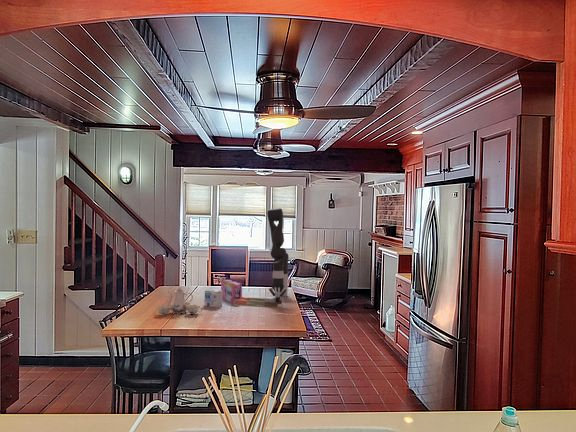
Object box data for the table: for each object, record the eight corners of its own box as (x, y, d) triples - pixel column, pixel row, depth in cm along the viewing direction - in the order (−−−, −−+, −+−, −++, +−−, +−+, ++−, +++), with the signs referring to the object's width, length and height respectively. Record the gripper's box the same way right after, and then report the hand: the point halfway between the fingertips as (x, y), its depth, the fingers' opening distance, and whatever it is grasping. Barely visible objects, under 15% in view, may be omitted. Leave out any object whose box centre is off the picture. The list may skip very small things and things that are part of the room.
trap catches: (240, 301, 325) (240, 296, 325) (251, 301, 323) (251, 297, 323) (234, 304, 315) (234, 299, 314) (246, 304, 312) (246, 300, 312)
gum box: (242, 302, 327) (243, 283, 327) (232, 303, 323) (233, 283, 323) (230, 296, 348) (230, 278, 348) (220, 297, 344) (220, 279, 344)
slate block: (267, 303, 317) (267, 296, 317) (275, 304, 316) (275, 297, 316) (264, 305, 311) (265, 298, 311) (273, 306, 310) (273, 298, 310)
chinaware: (155, 320, 277) (156, 293, 275) (156, 311, 293) (156, 286, 291) (202, 318, 284) (203, 292, 282) (200, 309, 300) (201, 284, 298)
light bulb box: (204, 305, 312) (204, 290, 312) (210, 304, 318) (210, 288, 318) (216, 307, 307) (217, 291, 307) (222, 305, 313) (222, 290, 313)
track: (241, 302, 327) (241, 296, 327) (282, 305, 319) (283, 299, 319) (234, 305, 313) (234, 300, 313) (277, 309, 305) (277, 303, 305)
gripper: (288, 276, 314) (288, 302, 314) (270, 276, 318) (270, 300, 318) (286, 278, 307) (285, 304, 307) (267, 277, 310) (266, 302, 310)
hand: (277, 302), depth 312 cm, fingers closed
